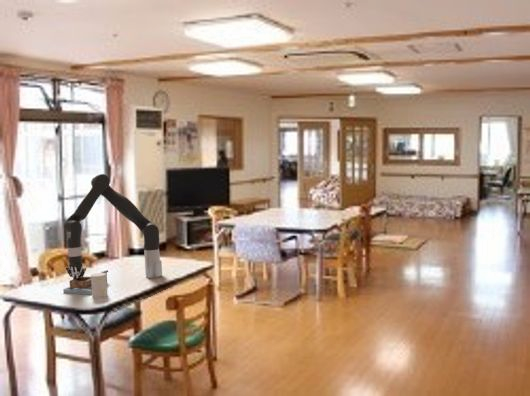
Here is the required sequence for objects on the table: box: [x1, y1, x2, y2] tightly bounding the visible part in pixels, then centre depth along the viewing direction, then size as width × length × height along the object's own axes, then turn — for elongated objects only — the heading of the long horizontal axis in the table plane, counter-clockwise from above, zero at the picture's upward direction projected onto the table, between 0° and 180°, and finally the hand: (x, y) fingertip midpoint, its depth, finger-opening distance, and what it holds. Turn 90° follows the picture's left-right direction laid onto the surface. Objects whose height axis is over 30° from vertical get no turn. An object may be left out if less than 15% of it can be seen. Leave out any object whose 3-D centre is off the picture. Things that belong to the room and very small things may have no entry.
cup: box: [90, 272, 109, 299], centre depth 325 cm, size 8×8×12 cm
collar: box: [69, 275, 92, 289], centre depth 339 cm, size 13×11×4 cm
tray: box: [63, 283, 109, 296], centre depth 340 cm, size 18×16×2 cm
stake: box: [100, 269, 109, 281], centre depth 353 cm, size 2×5×8 cm, turn 159°
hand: (77, 284), depth 341 cm, fingers closed on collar, 1 cm apart
